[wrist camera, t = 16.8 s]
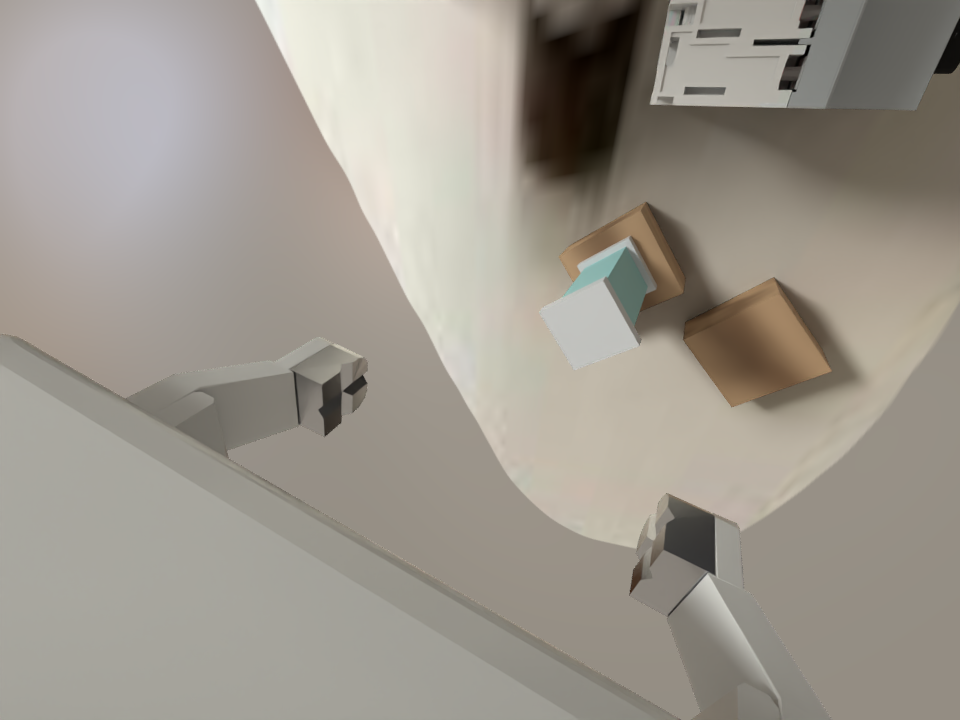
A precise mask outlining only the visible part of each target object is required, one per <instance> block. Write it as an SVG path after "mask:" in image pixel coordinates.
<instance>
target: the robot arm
mask: <svg viewBox="0 0 960 720" xmlns="http://www.w3.org/2000/svg"><path fill="white" fill-rule="evenodd" d="M367 370H368V362H367V360H366V359H365V358H364V357H362V356H360V355H358V354H356V353H354V352H352V351H350V350H348V349H345V348H343V347H341V346H339V345H337V344H334V343H332V342H330V341H328V340H326V339H324V338H322V337H320V338H314V339H313V340H311V341H309V342H308V343H306V344H304V345H303V346H301V347H299V348H297V349H296V350H294V351H292V352H291V353H289V354H287V355H286V356H284V357H282V358H281V359H279V360H277V361H275V362H271V361H262V362H255V363H248V364H241V365H235V366H227V367H221V368H214V369H207V370H200V371H193V372H187V373H180V374H173V375H171V376H169V377H167V378H165V379H163V380H161V381H159V382H157V383H155V384H153V385H151V386H149V387H147V388H145V389H143V390H141V391H139V392H137V393H135V394H133V395H131V396H130V397H127V398H123V397H122V396H120V395H118V394H116V393H115V392H113V391H111V390H110V389H108V388H106V387H104V386H103V385H101V384H99V383H97V382H95V381H94V380H92V379H90V378H89V377H87V376H85V375H84V374H82V373H80V372H78V371H77V370H75V369H73V368H71V367H70V366H68V365H66V364H64V363H63V362H61V361H59V360H58V359H56V358H54V357H52V356H51V355H49V354H47V353H46V352H44V351H42V350H41V349H39V348H37V347H36V346H34V345H32V344H31V343H29V342H27V341H25V340H23V339H21V338H19V337H17V336H13V335H8V334H0V720H681V719H679V718H677V717H676V716H674V715H672V714H671V713H669V712H667V711H665V710H664V709H662V708H660V707H658V706H657V705H655V704H653V703H651V702H650V701H648V700H646V699H644V698H643V697H641V696H639V695H638V694H636V693H634V692H632V691H631V690H629V689H627V688H626V687H624V686H622V685H620V684H618V683H617V682H615V681H613V680H612V679H610V678H608V677H606V676H605V675H603V674H601V673H599V672H598V671H596V670H594V669H593V668H590V667H589V666H587V665H586V664H584V663H582V662H581V661H579V660H577V659H575V658H574V657H572V656H570V655H568V654H567V653H565V652H563V651H561V650H560V649H558V648H556V647H555V646H553V645H551V644H549V643H548V642H546V641H544V640H542V639H541V638H539V637H537V636H535V635H534V634H532V633H530V632H528V631H527V630H525V629H523V628H522V627H520V626H518V625H516V624H515V623H513V622H511V621H509V620H508V619H506V618H504V617H502V616H501V615H499V614H497V613H496V612H494V611H492V610H490V609H489V608H487V607H485V606H483V605H482V604H480V603H478V602H477V601H475V600H473V599H471V598H469V597H468V596H466V595H464V594H463V593H461V592H459V591H457V590H455V589H454V588H452V587H450V586H449V585H447V584H445V583H444V582H442V581H440V580H438V579H437V578H435V577H433V576H431V575H429V574H428V573H426V572H424V571H423V570H421V569H419V568H417V567H416V566H414V565H412V564H410V563H409V562H407V561H405V560H404V559H402V558H400V557H398V556H397V555H395V554H393V553H392V552H390V551H388V550H386V549H385V548H383V547H381V546H379V545H378V544H376V543H374V542H372V541H371V540H369V539H367V538H365V537H364V536H362V535H360V534H359V533H357V532H355V531H354V530H352V529H350V528H348V527H347V526H345V525H343V524H341V523H340V522H338V521H336V520H334V519H333V518H331V517H329V516H328V515H326V514H324V513H322V512H321V511H319V510H317V509H315V508H314V507H312V506H310V505H309V504H307V503H305V502H303V501H302V500H300V499H298V498H296V497H295V496H293V495H291V494H289V493H288V492H286V491H284V490H283V489H281V488H279V487H277V486H276V485H274V484H272V483H270V482H269V481H267V480H265V479H264V478H262V477H260V476H258V475H256V474H255V473H253V472H251V471H250V470H248V469H246V468H244V467H243V466H241V465H239V464H238V463H236V462H234V461H232V460H231V459H229V457H228V453H227V451H228V450H230V449H233V448H236V447H239V446H242V445H245V444H248V443H251V442H254V441H257V440H260V439H263V438H266V437H269V436H271V435H274V434H277V433H281V432H283V431H286V430H289V429H292V428H295V427H298V426H299V425H300V426H303V427H305V428H307V429H309V430H311V431H313V432H315V433H317V434H319V435H321V436H323V437H325V436H326V435H328V434H329V433H330V432H331V431H332V430H333V429H335V428H336V427H337V426H338V425H339V424H340V423H341V421H342V416H343V415H346V414H350V413H353V412H354V411H355V410H356V409H357V408H359V406H360V405H361V403H362V402H363V400H364V398H365V396H366V392H367V382H366V380H365V378H364V376H363V374H364V373H365V372H367ZM636 554H637V556H638V558H639V560H640V561H639V562H638V563H637V565H636V566H635V568H634V569H633V574H632V581H631V587H630V593H629V596H631V597H632V598H634V599H636V600H638V601H639V602H641V603H643V604H645V605H647V606H649V607H650V608H652V609H654V610H656V611H658V612H659V613H661V614H663V615H665V616H667V617H668V618H667V621H668V624H669V626H670V629H671V632H672V635H673V637H674V640H675V642H676V646H677V648H678V651H679V654H680V657H681V659H682V662H683V665H684V667H685V670H686V673H687V676H688V678H689V681H690V684H691V687H692V690H693V692H694V695H695V698H696V701H697V704H698V706H699V709H700V712H701V713H699V714H698V715H697V716H695V717H694V718H692V719H691V720H832V719H831V717H830V716H829V714H828V713H827V711H826V709H825V708H824V706H823V705H822V703H821V702H820V700H819V698H818V697H817V695H816V694H815V692H814V691H813V689H812V688H811V686H810V684H809V683H808V681H807V680H806V678H805V677H804V675H803V673H802V672H801V671H800V669H799V667H798V666H797V664H796V662H795V661H794V659H793V658H792V656H791V655H790V653H789V652H788V650H787V649H786V647H785V645H784V644H783V642H782V640H781V639H780V637H779V636H778V634H777V633H776V631H775V629H774V628H773V626H772V625H771V623H770V622H769V620H768V619H767V617H766V615H765V614H764V612H763V611H762V609H761V608H760V606H759V605H758V603H757V601H756V600H755V598H754V597H753V595H752V594H751V593H749V592H747V591H745V590H744V582H743V567H742V555H741V541H740V528H739V526H738V525H737V523H735V522H732V521H730V520H728V519H726V518H723V517H721V516H719V515H716V514H714V513H711V512H709V511H706V510H704V509H702V508H700V507H697V506H695V505H693V504H690V503H688V502H686V501H684V500H681V499H679V498H677V497H675V496H672V495H670V494H668V493H666V494H665V495H664V496H663V497H662V498H661V500H660V501H659V503H658V507H657V513H656V514H653V515H650V516H649V518H648V520H647V521H646V523H645V525H644V527H643V529H642V532H641V534H640V537H639V541H638V545H637V551H636Z"/></svg>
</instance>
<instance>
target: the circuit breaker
mask: <svg viewBox="0 0 960 720" xmlns="http://www.w3.org/2000/svg"><path fill="white" fill-rule="evenodd" d="M959 63H960V0H670V2H669V7H668V13H667V18H666V23H665V28H664V33H663V39H662V44H661V49H660V54H659V60H658V65H657V70H656V71H657V74H656V80H655V85H654V90H653V92H652V96H651V101H650V105H683V106H726V107H769V108H812V109H827V108H833V109H877V110H916V109H917V107H918V105H919V103H920V101H921V98H922V96H923V94H924V92H925V90H926V88H927V86H928V84H929V81H930V79H931V77H932V75H933V74H950V73H952V72H953V71H954V70H955V69H956V68H957V66H958V65H959Z"/></svg>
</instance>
